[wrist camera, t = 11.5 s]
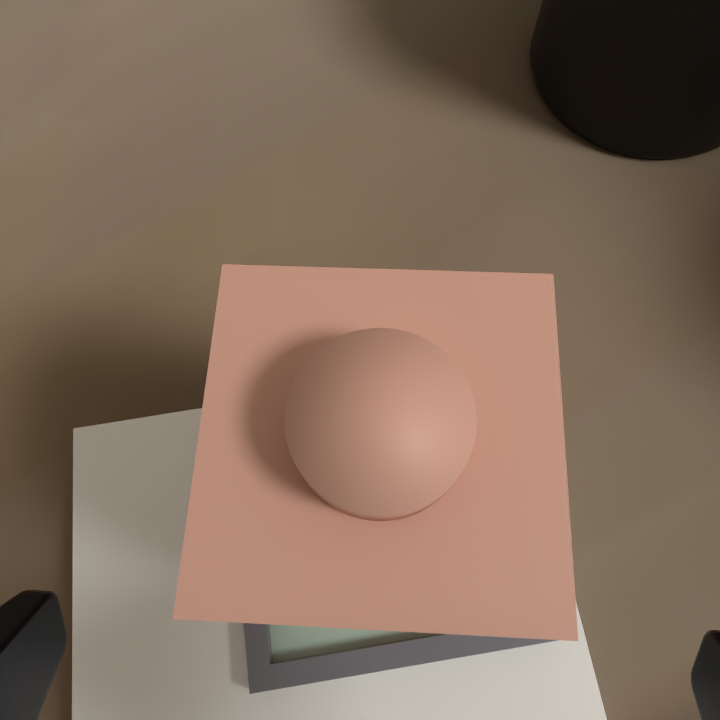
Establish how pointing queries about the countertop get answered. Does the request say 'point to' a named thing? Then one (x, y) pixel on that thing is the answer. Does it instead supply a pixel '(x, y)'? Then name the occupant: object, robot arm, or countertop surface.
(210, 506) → the pillar
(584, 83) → the mug
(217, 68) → the countertop surface
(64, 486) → the countertop surface
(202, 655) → the build board
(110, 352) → the countertop surface
